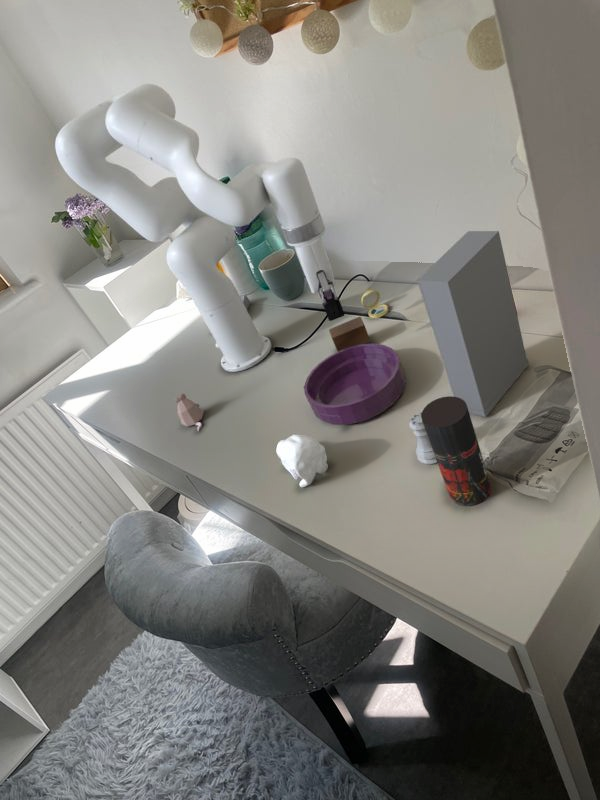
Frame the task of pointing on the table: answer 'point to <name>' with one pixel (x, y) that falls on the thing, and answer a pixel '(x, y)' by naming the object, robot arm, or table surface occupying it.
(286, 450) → the white lumpy piece
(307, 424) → the table surface
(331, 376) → the bowl
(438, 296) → the upright grey slab
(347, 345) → the brown rectangular block
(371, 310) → the eyeshadow
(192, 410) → the mouse figurine
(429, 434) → the deodorant
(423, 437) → the rook chess piece
